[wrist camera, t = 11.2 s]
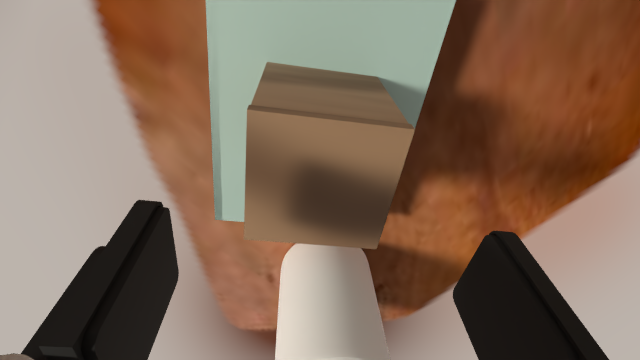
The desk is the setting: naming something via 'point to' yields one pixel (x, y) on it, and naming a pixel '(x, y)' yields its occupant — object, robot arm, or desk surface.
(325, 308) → the pill bottle
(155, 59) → the desk surface
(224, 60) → the book
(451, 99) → the desk surface
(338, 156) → the walnut block
